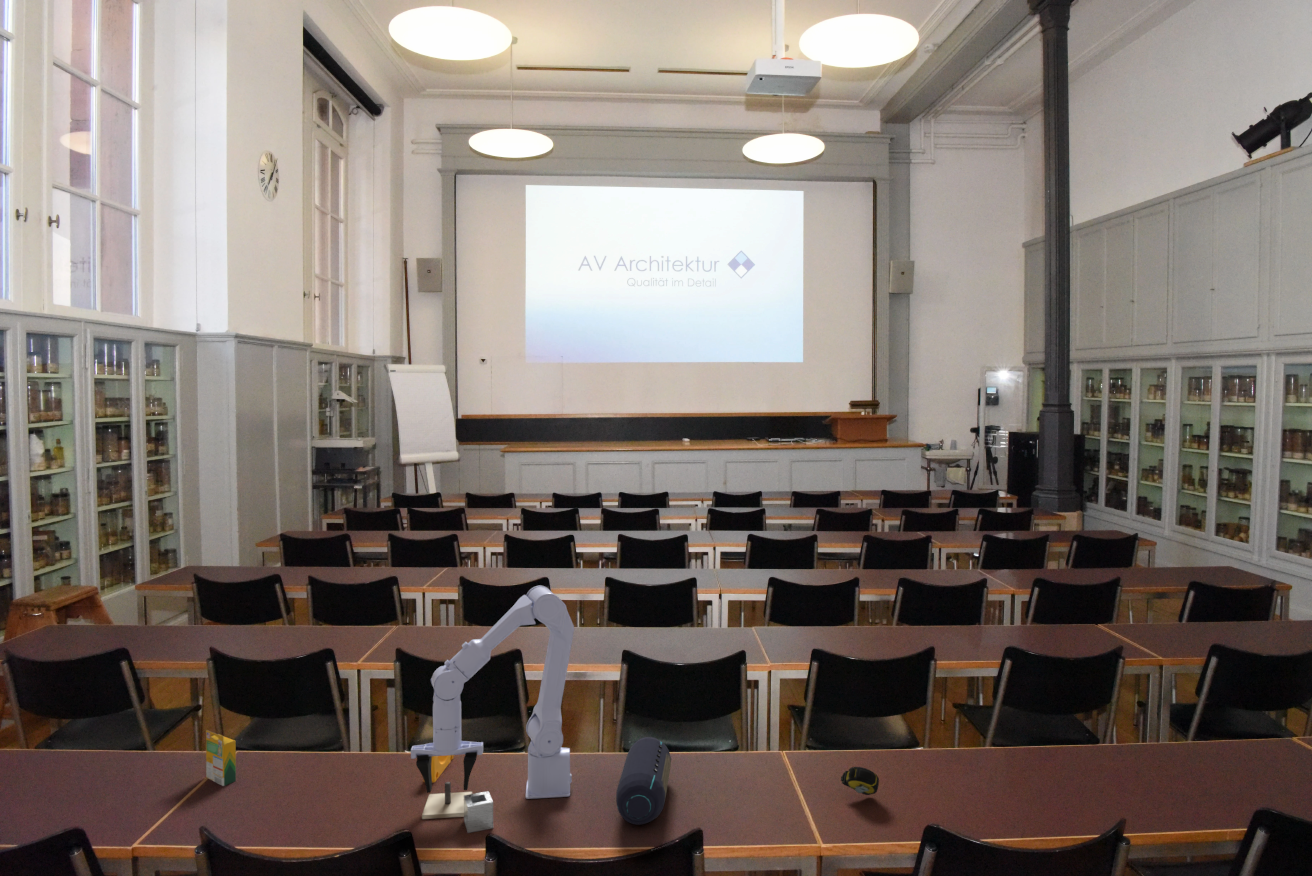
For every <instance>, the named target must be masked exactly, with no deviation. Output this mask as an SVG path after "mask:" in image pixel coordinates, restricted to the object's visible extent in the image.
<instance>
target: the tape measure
mask: <svg viewBox="0 0 1312 876" xmlns="http://www.w3.org/2000/svg"><path fill="white" fill-rule="evenodd" d="M840 781H841V784H842V785H844V786H846V787H847V788H849V789H851V790H853V791H856V793H859V794H862V795H865V796H871V795H874V794H876V793H877V792H878V789H879V786H880V785H879V783H880V779H879V776H878V775H877V774H876V773H875V772H874V771H872V770H871V769H868V768H865V767H862V766H853V767H850V768H849V769H848V770H845V771H843V773H842V775H841V778H840Z"/></svg>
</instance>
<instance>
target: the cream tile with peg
mask: <svg viewBox="0 0 1312 876" xmlns="http://www.w3.org/2000/svg"><path fill="white" fill-rule="evenodd" d="M451 788H452V786H451V782H450V781H446V782H444V792H443V793H441V792H440V793H429V794H428V797H427V800H426V803H425V805H424V808H423V811H422V815H421V819H422V820H429V819H431V820H432V819H444V818H446V819H447V818H461V817H463V818H464V795H469V794H473V791H464V792H463V791H460V792H451V791H452V789H451Z"/></svg>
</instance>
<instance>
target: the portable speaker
mask: <svg viewBox="0 0 1312 876" xmlns="http://www.w3.org/2000/svg"><path fill="white" fill-rule="evenodd" d="M671 766H672V756H671V752H670V750H669V749H668V747H667V745H666V744H665V743H664V742H663V741H661V740H659V738H656V737H651V736H646V737H645V736H644V737H641V738H639V739H638V740H636V741H635V742H634V743H632V745H631V746H630V749H629V750H628V752H627V755H626V758H625V761H624V765H623V769H622V771H621V775H620V778H619V781H618V785H617V789H616V793H615V801H616V807H617V811H618V813H619V815H620V816H621V818H623V820H625V821H626V822H627V823H629V824H632V825H637V826H638V825H645V824H647V823H651V822H652V821H654V820H655V819H656V818H658V817H659V815H660V814H661V812H662V811H663V809H664V806H665V801H666V796H667V791H668V785H669V777H670V774H671V773H670V772H671Z"/></svg>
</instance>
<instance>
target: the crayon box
mask: <svg viewBox="0 0 1312 876" xmlns="http://www.w3.org/2000/svg"><path fill="white" fill-rule="evenodd" d="M205 737H206V738H205V740H206V741H205V749H206V750H205V758H206V759H205V760H206V761H205V766H206V767H205V772H206V773H205V775H206V776H205V778H206V779H209V780H210V781H213V782H214V783H216V784H218V785H220V786H222V787H225V786H228V785H230V784H232V783H234V782H236V781H237V778H236V777H237V771H236V770H237V766H236V765H237V764H236V763H237V762H236V759H237V753H236V750H237V749H236V746H237V745H236V740H235V739H231V738H230V737H226V736H224V735H222V734H219V733H216V732H214V731H210V730H208V729H205Z"/></svg>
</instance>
